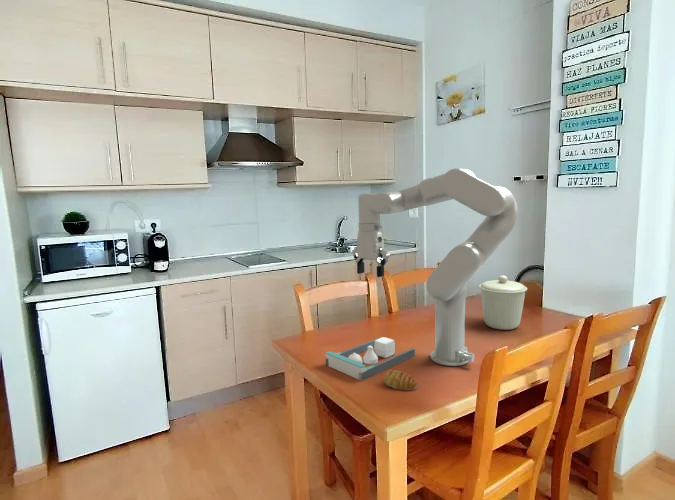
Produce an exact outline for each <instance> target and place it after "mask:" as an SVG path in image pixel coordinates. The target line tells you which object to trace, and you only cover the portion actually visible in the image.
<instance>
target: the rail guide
mask: <svg viewBox="0 0 675 500" xmlns="http://www.w3.org/2000/svg"><path fill="white" fill-rule="evenodd" d="M380 338H381V337H377V338H374V339H372V340H371V339H370V340H369V341H366V342H364V343H361V344H358V345H356V346H353V347H351V348H348V349H345V350H343V351H341V352H340V351H339V352H334V351H332V350H329V351H327V352H325V365H326V366H328V367H329V368H332V369H334V370H337V371H338V372H340V373H343V374H346V375H348V376H350V377H352V378H355V379H357V380H359V381H364V380H367V379H369V378H371V377H373V376H375V375H377V374H379V373H382V372H383V371H386V370H388V369H390V368H392V367H394V366H396V365H399V364H401V363H403V362H405V361H407V360H409V359H411V358H413V357H415V356H416V352H415V351H416V349H415V348H414V347H413V348H409V349H407V350H405V351H402V352H400V353H398V354H394V355H392V356H390V357H388V358H385V359H384V360H382V361H380V362H377V363H375V364H371V365H369V366H367V364H365V363H362V364H361V363H359V362H357V361H354V360H352V359H349V358H348V357H349V356H350V355H351V354H353V353H356V354H358V355H360V354H361V353H362V354H363V353H364V352H365V353H366V352H367V347H368V346H372V347H373V349H375V348H374V342H375V340H377V339H380Z"/></svg>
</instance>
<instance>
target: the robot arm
mask: <svg viewBox="0 0 675 500" xmlns="http://www.w3.org/2000/svg"><path fill="white" fill-rule="evenodd" d="M357 200H358V206H357V207H358V233H357V238H356V247H355V248H354V249H352V251H351V253H352V254H353V258H354V260H355V263H356V267H357V268H356V270H357V271H356V273H357V274H358V275H359V274H363V273H365V262H364V260H370V261H375V263H376V264H377V266H376V277H377V278H381V277H384V276H385V266H386V264H387V262H388V260H389V258H390V253H389V252H387V251H386V250H385V241H384V235H383V232H382V231H381V229H382V225H381V216H380V215H390V214H391V215H392V214H397V213H402V212H405V211H410V210H413V209H417V208H421V207H428V206H432V205H436V204H439V203H443V202H448V201H451V200H454V201H457V202H459V203H460V204H461V205H463V206H465V207H467V208H468V209H471V210H472V211H473V212H476V213H477V214H480V215H483V216H485V218H484V220H482V222H481V223H480V224H478V226H477V227H476V229H475V230H474V231H473V233H472V234H471V235H470V236H469V237H468V238H467V239H466V240H465V241H463V242H462V243H460V244H458V245H455V246H454V248H452V249H451V250H450V251H449V252H448V253H447V254H446V255H445V256H444V258H443V259H442V260H441V262H440V263H439V264H438V265H437V266H436V267H435V268H434V270H433V271H432V272H431V273H430V274H429V276H428V277H427V280H426V291H427V294H428V295H429V296H430V298H432V299H433V300H435V303H434V305H435V306H434V350H432V351H430V354H429V355H430V359H431V361H432V362H434V363H436V364H439V365H442V366H449V367H458V366H459V367H460V366H464V365H467V364H468V363H469V362H470V363H474V362H475V356H476V355H475V353H473V352H469V351H468V346H465V344H466V343H465V337H466V336H465V335H466V333H465V332H466V331H465V330H466V327H465V326H466V325H465V324H466V319H465V318H466V300H467V299H466V298H467V290H468V289H467V288H468V281H469V280H470V279H471V278H472V277H473V276H474V275H475V274H476V273H477V272H478V271H479V270H480V269H482V268H483V266H484V265H485V264H486V263H487V261H488V260H489V259H490V257H491V256H492V255H493V254H494V252H496V250H497V249H498V248H499V247H500V246H501V244H503V242H504V241H505V240H506V239H507V238H508V236H509V235H510V234H511V232H512V230H513V229H514V227H515V226H516V222H517V218H518V210H519V209H518V204H517V200H516V199H515V196H514V194H512V192H511V191H510V190H509V189H507V188H506V187H503V186H498V185H497V186H496V185H495V186H494V185H491V184H490V183H487V182H486V181H483V180H482V179H480V178H478V177H476V175H475V173H474V172H473V171H471V170H470V169H467V168H460V167H459V168H458V167H456V168H452V169H449V170H447V171H446V172H445V173H442V174H439V175H436V176H433V177H428V178H425V179H422V180H421V181H420V182H419V183H418V184H417V185H413V186H411V187H408V188H404V189H400V190H397V191H383V192H378V193H375V192H364V193H363V192H362V193H360V194H359V195H358V199H357Z"/></svg>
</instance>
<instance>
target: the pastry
mask: <svg viewBox="0 0 675 500" xmlns="http://www.w3.org/2000/svg"><path fill="white" fill-rule="evenodd" d="M383 382H384V384H385V385H386V387H389V388H393V389H395V390H402V391H411V390H412V391H414V390H416V388H418V384H419V383H418V380H416V378H415V377H413V376H411V375H410V374H407V373H405V372H404V371H399V370H397V369H396V370H393V369H389V370H388V371H387V372H386V374H385V377H384V381H383Z"/></svg>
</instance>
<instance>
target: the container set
mask: <svg viewBox="0 0 675 500" xmlns="http://www.w3.org/2000/svg"><path fill="white" fill-rule="evenodd" d="M379 338H380V339H377V340H375V342H374V348H373V347H372V346H368V347H367V351H365V353H364V354H363V356H361V355H360V354H356V353H353V354H351V355H350V356H349V357H348V358H349V359H352V360H354V361H357V362H359V363H361V364H364V365H375V364H377V363H379V362H378V361H379V357H381V358H384V359H388V358H390V357H393V356H395V352H396V347H395V346H396V345H395V344H396V343H395V339H393V338H389V337H386V336H385V337H384V336H383V337H379Z"/></svg>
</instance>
